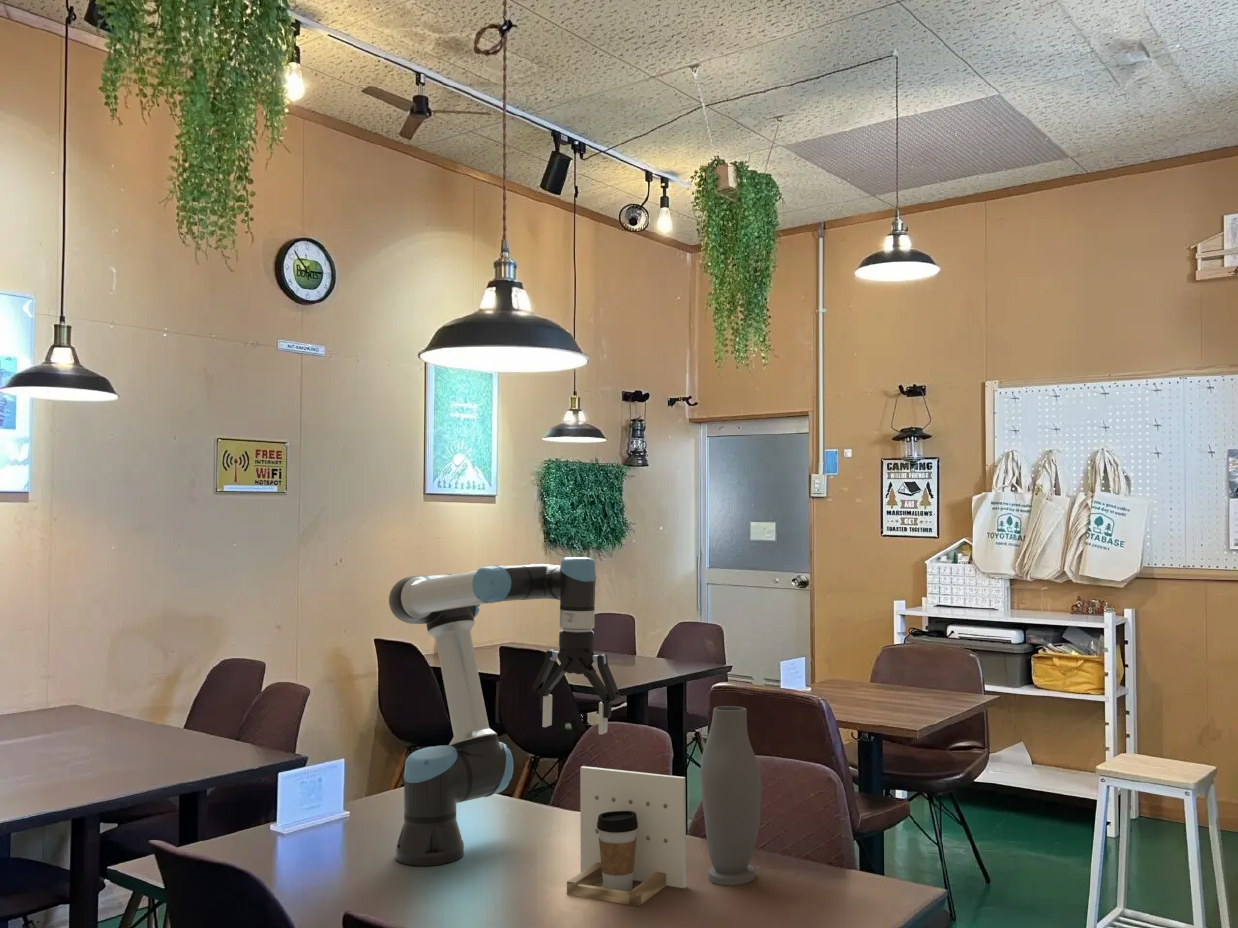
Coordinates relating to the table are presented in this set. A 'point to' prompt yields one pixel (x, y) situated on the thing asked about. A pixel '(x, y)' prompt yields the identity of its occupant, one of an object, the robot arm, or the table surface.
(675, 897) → the table surface
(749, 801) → the vase
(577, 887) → the wooden tray
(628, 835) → the coffee cup
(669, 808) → the wall board
